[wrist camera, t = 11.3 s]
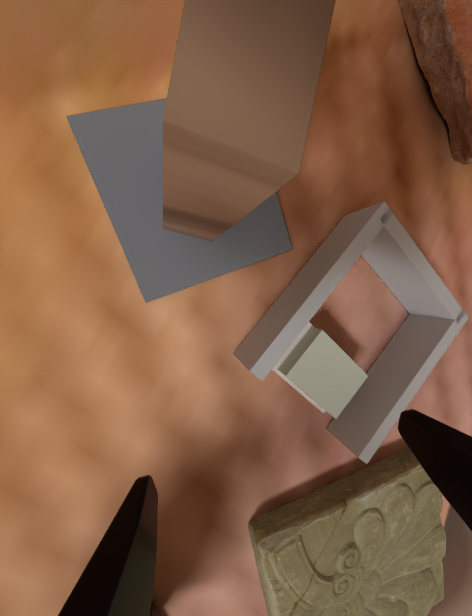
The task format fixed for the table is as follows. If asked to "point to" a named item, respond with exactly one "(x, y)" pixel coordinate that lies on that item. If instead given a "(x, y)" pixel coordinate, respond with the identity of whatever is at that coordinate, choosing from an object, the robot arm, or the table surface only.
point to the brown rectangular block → (238, 107)
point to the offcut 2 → (323, 371)
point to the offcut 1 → (286, 357)
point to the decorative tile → (355, 545)
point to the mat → (149, 205)
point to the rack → (402, 347)
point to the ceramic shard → (446, 62)
